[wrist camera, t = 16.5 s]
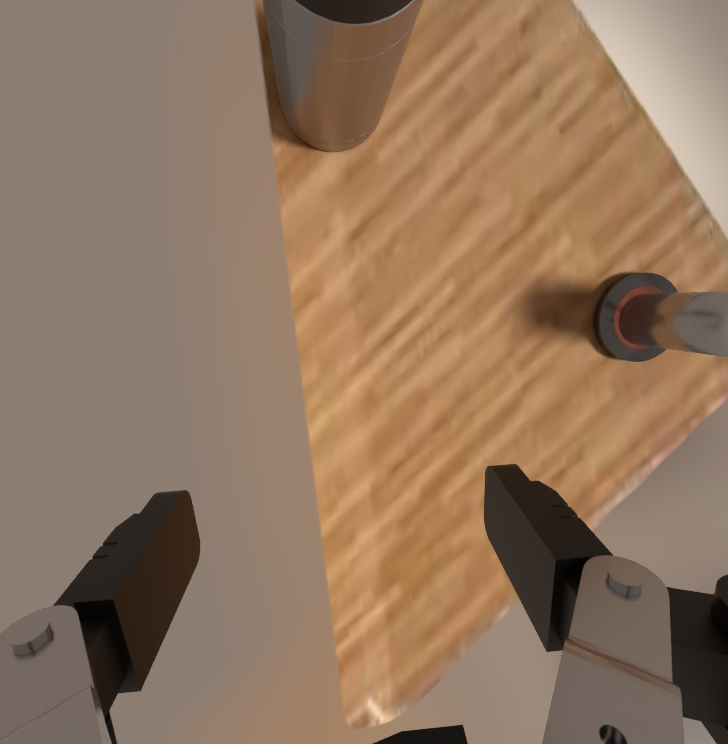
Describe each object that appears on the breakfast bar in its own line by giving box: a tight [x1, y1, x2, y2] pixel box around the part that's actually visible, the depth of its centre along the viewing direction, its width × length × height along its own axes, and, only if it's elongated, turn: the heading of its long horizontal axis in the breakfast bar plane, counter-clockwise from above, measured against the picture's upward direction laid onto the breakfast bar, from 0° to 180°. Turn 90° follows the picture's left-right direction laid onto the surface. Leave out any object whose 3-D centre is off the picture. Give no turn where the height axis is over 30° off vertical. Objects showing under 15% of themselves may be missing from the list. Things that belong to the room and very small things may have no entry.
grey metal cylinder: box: [619, 292, 728, 357], centre depth 37 cm, size 5×5×10 cm
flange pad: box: [595, 273, 678, 362], centre depth 42 cm, size 9×9×1 cm
